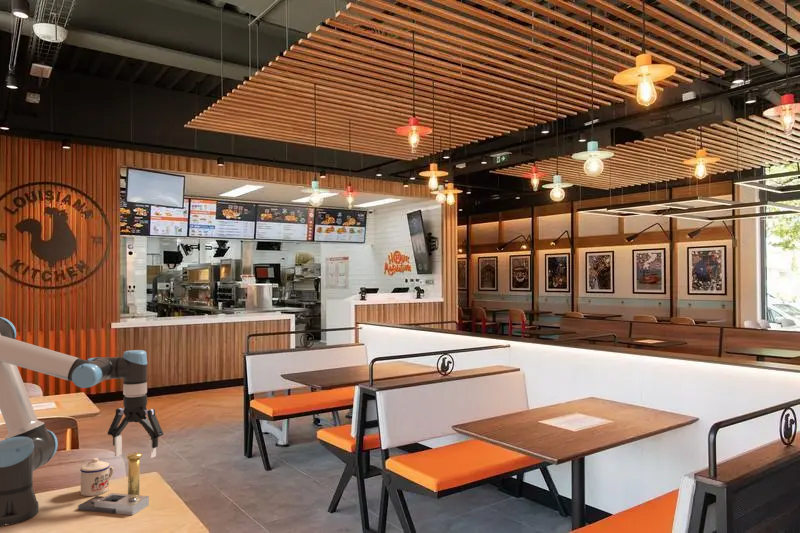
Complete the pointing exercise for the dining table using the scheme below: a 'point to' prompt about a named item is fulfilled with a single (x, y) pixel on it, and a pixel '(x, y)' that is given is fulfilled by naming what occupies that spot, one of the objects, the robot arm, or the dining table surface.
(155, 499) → the dining table surface
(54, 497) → the dining table surface
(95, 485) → the teacup with lid
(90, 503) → the lower chain end
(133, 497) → the block
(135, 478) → the brass pin
